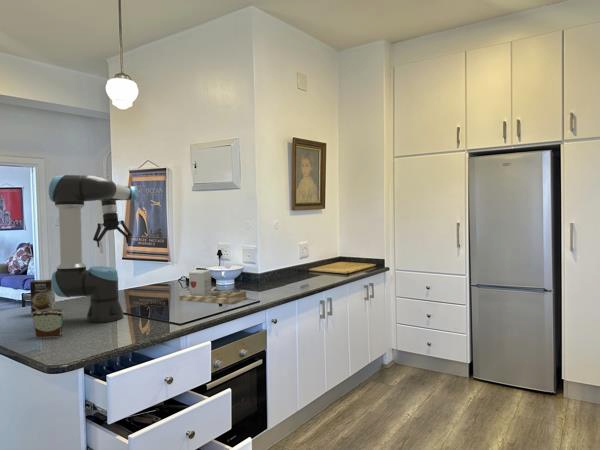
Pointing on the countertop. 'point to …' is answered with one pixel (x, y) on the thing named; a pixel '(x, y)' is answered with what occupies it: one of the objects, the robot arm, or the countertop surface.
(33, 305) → the coffee box
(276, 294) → the countertop surface
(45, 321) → the food container
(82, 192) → the robot arm
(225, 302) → the wooden cutting board
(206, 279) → the supplement box
